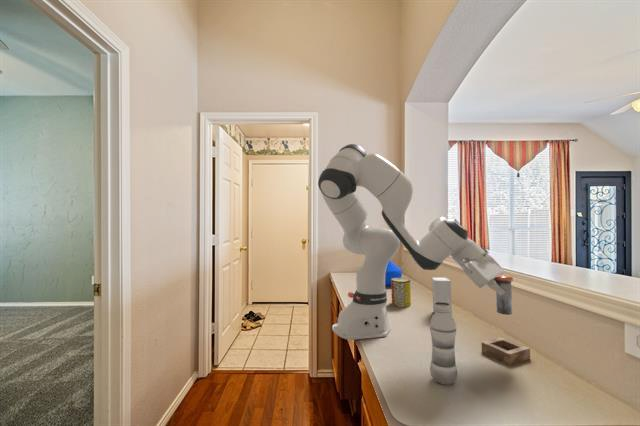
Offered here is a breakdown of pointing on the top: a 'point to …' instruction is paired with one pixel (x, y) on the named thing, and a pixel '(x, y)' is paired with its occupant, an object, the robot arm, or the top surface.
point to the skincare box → (441, 291)
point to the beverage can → (401, 292)
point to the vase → (392, 273)
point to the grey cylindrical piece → (504, 295)
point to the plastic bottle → (443, 345)
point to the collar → (506, 350)
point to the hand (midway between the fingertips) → (505, 292)
